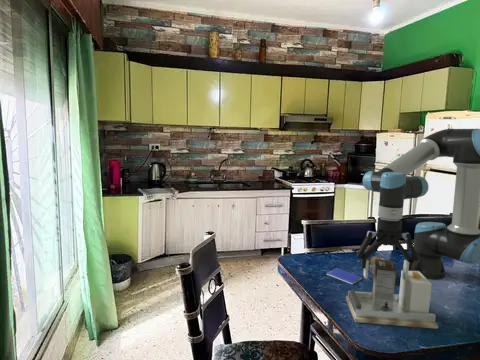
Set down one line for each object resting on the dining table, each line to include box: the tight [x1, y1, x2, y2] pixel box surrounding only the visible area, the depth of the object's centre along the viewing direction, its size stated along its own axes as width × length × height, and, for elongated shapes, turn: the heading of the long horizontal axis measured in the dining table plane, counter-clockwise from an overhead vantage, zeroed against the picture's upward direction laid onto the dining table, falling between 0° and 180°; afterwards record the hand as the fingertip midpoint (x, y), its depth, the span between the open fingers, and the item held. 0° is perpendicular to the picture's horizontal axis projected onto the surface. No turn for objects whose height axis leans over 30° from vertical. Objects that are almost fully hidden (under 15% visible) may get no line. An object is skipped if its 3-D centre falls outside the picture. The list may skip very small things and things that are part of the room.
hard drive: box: [326, 267, 363, 285], centre depth 147 cm, size 2×8×12 cm
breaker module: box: [398, 269, 433, 313], centre depth 116 cm, size 6×10×13 cm, turn 174°
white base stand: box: [347, 289, 437, 323], centre depth 118 cm, size 25×13×4 cm, turn 84°
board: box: [345, 295, 439, 330], centre depth 118 cm, size 26×16×1 cm, turn 84°
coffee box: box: [372, 259, 397, 310], centre depth 117 cm, size 9×6×16 cm
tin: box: [368, 255, 398, 280], centre depth 146 cm, size 15×3×8 cm, turn 18°
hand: (385, 278), depth 117 cm, fingers open, 12 cm apart
